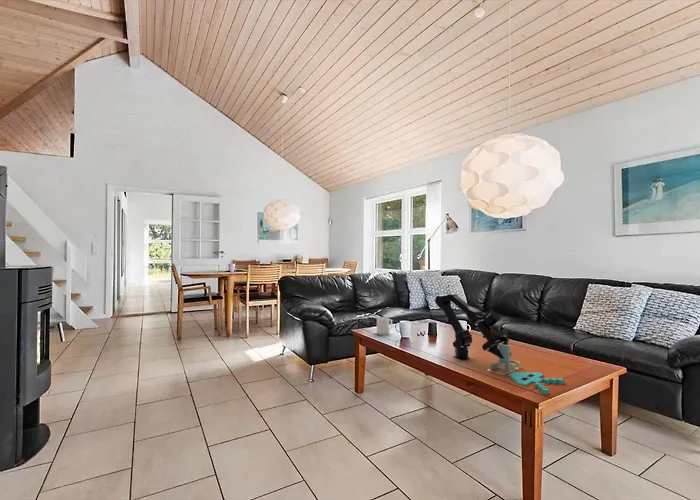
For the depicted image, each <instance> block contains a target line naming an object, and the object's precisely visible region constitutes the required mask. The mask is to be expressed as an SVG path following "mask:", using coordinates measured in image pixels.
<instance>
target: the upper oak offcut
mask: <svg viewBox="0 0 700 500" xmlns="http://www.w3.org/2000/svg"><path fill="white" fill-rule="evenodd" d="M498 361H499V360H493V361H491V362H490V364H491V365H490V366H492V367H497V368H501V369H504V368H506V363H503V362H498Z"/></svg>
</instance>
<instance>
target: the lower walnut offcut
mask: <svg viewBox="0 0 700 500" xmlns="http://www.w3.org/2000/svg"><path fill="white" fill-rule="evenodd" d="M489 369H490V370H492V371H496V372H499V373H503V374H504V373H506V372H508V368H507V367H506V368H504V369H501V368H497V367H492V366H491V365H490V367H489ZM492 371H491V372H492Z"/></svg>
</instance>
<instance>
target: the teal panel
mask: <svg viewBox="0 0 700 500" xmlns="http://www.w3.org/2000/svg"><path fill="white" fill-rule="evenodd" d="M498 349H499V350H500V352H501V354H502V355H503V357H504V358H503V359H501V358H500V357H498V361H499V362H503V363H506V365H508V366H510V360H511V356H510V352H511V345H509V344H508V345H504V344H499V345H498Z"/></svg>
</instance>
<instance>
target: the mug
mask: <svg viewBox="0 0 700 500" xmlns="http://www.w3.org/2000/svg"><path fill="white" fill-rule="evenodd" d="M392 328H393V319H390V317H386V316H379V317H378V316H377V318H376V333H377V335H380V336H388V335H389V333H390V330H391V329H392Z"/></svg>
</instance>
